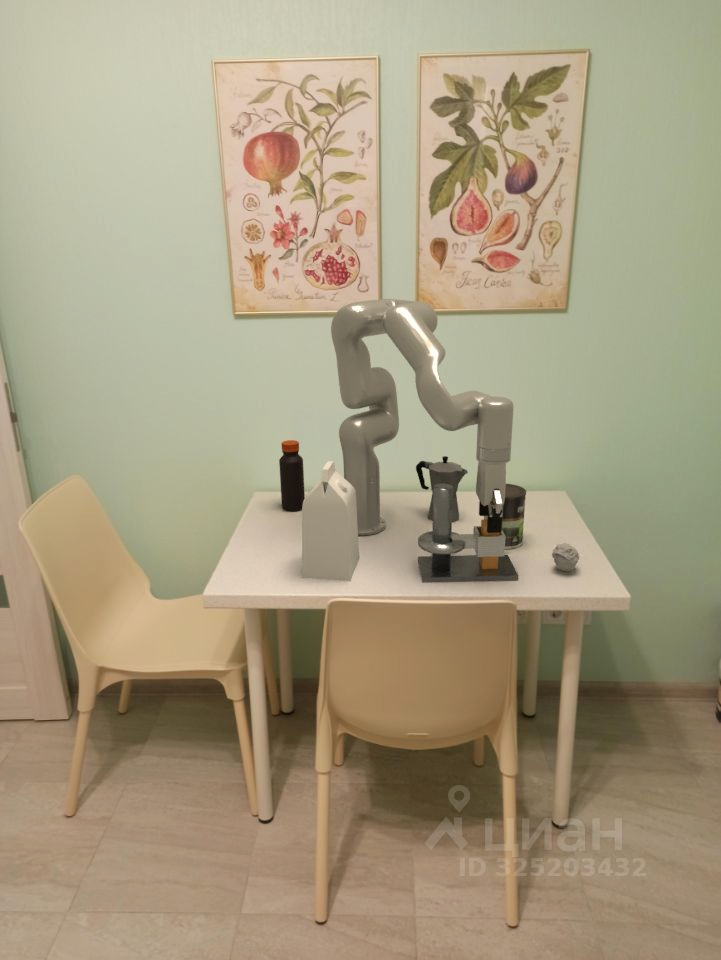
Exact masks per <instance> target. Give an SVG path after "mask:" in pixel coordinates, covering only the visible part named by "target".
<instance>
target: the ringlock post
mask: <svg viewBox="0 0 721 960" xmlns="http://www.w3.org/2000/svg"><path fill="white" fill-rule="evenodd" d="M452 505H453V486H452V485H449V484H436V485H434V487H433V521H432V530H431V531H426V532H423V533H422V534H421V535H419V536H418V538H417V545H418V547H419V548H420V549H421V551H422V550H423V551H424V552H427V553H430V554H431V555H429V556H428V555H427V556H426V555H425V556H424V555H423V556H417V565H418V568H419V572H420V573H419V575H420V578H421V582H422V583H458V582H462V583H463V582H499V581H500V582H501V581H505V582H507V581H519V574H518V572H517V570H516V568H515V566H514V564H513V562H512V560H511V558H510V556H509V554H505V552H506V551H505V550H506V549H505V539H506V536H505V534H504V532H503V531H501V533H500V534H499V536H481V525H473V533H465V534H464V533H463V534H461V533H459V532H458V533H457V532H455V531H452V530H453V529H452V528H453V523H452ZM463 550H474V552H475V554H473V555H472V554H471V555H467V554H466V555H465V554H464V555H453V554H456V553H459V552H461V551H463ZM496 556H498V569H482V567H481V565H480V562H479V559H480V557H496Z"/></svg>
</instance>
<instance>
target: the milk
mask: <svg viewBox="0 0 721 960" xmlns="http://www.w3.org/2000/svg"><path fill="white" fill-rule="evenodd" d="M321 473H322V474H321V478H320V479H319V480H318V481H317V482H316V483H315V484H314V485H313V486H312V487H311V488H310V490H309V491H308V493H307V494H306V495H305V499H304V501H303V505H302V510H301V517H302V518H301V527H302V528H301V578H302V579H312V580H313V579H315V580H327V581H343V582H344V581H345V582H351V581H352V578H353V576H354V573H355V570H356V568H357V565H358V563H359V560H360V547H359V546H360V545H359V535H358V526H357V508H356V492H355V489H354V487H353V486H352V485H351V484H350V483H349V482H348V481H347V480H345V479H344V476H342V475H341V474H340V473H339V472H337V471H336V468H335V462H334V461H332V460H328V461H327V462H326V464H324V466H323V468H322V472H321Z"/></svg>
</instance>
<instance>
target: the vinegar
mask: <svg viewBox="0 0 721 960" xmlns="http://www.w3.org/2000/svg"><path fill="white" fill-rule="evenodd" d="M299 452H300V442H299V441H298V440H293V439H292V440H291V439H290V440H284V441H281V453H282V455H281V457H280V458H279V460H278V461H279V462H278V463H279V464H278V465H279V477H280V494H281V495H280V496H281V497H280V498H281V499H280V500H281V508H282V510H284V511H286V512H300V511H302V505H303V501H304V499H305V497H306V495H305V477H304V476H305V475H304V473H305V472H304V459H303V457H302V456H301V455H300V454H299Z"/></svg>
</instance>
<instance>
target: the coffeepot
mask: <svg viewBox="0 0 721 960" xmlns="http://www.w3.org/2000/svg"><path fill="white" fill-rule="evenodd" d="M448 460H449V456H442V461H437V462H432V461H424V460H420V461H419V462H418V463H417V464H416V465H415V471H416V474H417V477H418V479H419V484H420V487H421V489H423V490H429V489H430V488H431V492H432V493H431V494H432V495H431V498H430V505H429V509H428V516H427V519H428V520H430V521H431V522H433V487H434V485H436V484H449V485H452V486H453V505H452V524H453V523H456V522H457V521H459V520H460V512H459V503H458V495H457V492H458V489H459V488H458V487H459V483H461V481H462V480H463V478H464V477H465V476H466V474H468V473H469V472H468V470H467V469H465V468H463V467H462V464H458V463H456V462H452V461H448ZM422 468H424V469H426V470H428V471H429V472H428V473H429V481H430V487H429V486H428V485H426V484H425V483H426V482H425V478H424V473H423V469H422Z"/></svg>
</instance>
